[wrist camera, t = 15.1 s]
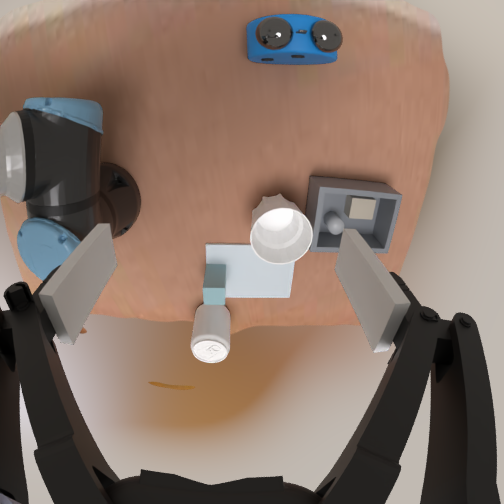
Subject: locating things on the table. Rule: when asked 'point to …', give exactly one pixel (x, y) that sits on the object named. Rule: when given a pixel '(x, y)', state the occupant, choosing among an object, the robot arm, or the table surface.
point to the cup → (279, 231)
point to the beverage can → (211, 333)
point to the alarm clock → (293, 40)
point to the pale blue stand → (242, 274)
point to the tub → (351, 212)
